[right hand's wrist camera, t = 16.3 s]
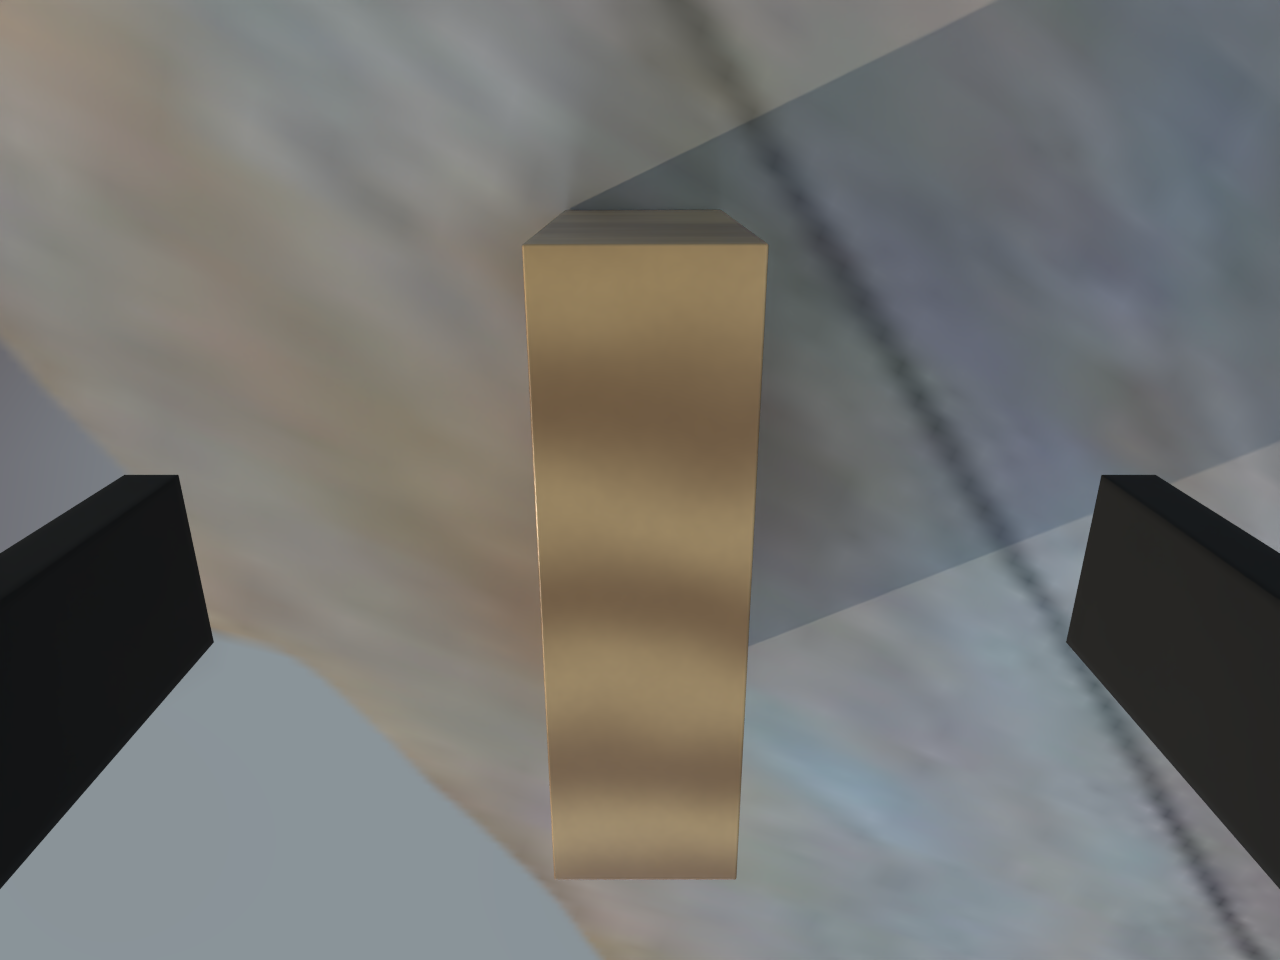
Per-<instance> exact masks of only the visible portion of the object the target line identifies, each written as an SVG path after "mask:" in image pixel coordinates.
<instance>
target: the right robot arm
mask: <svg viewBox="0 0 1280 960" xmlns="http://www.w3.org/2000/svg"><path fill="white" fill-rule="evenodd" d="M213 642H214V641H213V637H212V632H211V627H210V622H209V618H208V613H207V608H206V603H205V599H204V594H203V589H202V585H201V580H200V575H199V570H198V566H197V561H196V556H195V551H194V547H193V542H192V537H191V533H190V528H189V523H188V518H187V514H186V509H185V504H184V499H183V495H182V490H181V485H180V481H179V476H178V475H124V476H122V477H120V478H119V479H117V480H116V481H114V482H113V483H111V484H109V485H108V486H106V487H105V488H103V489H101V490H100V491H98V492H97V493H95V494H94V495H92V496H90V497H89V498H87V499H86V500H84V501H82V502H81V503H79V504H78V505H76V506H75V507H73V508H71V509H70V510H68V511H67V512H65V513H63V514H62V515H60V516H59V517H57V518H56V519H54V520H52V521H51V522H49V523H48V524H46V525H44V526H43V527H41V528H40V529H38V530H36V531H35V532H33V533H32V534H30V535H29V536H27V537H25V538H24V539H22V540H21V541H19V542H17V543H16V544H14V545H13V546H11V547H10V548H8V549H6V550H5V551H3V552H2V553H0V889H1V887H2V886H3V885H4V884H5V883H6V882H7V881H8V879H9V878H10V877H11V876H12V875H13V874H14V872H15V871H16V870H17V869H18V868H19V867H20V865H21V864H22V863H23V862H24V861H25V860H26V859H27V857H28V856H29V855H30V854H31V853H32V852H33V850H34V849H35V848H36V847H37V846H38V845H39V843H40V842H41V841H42V840H43V839H44V838H45V837H46V835H47V834H48V833H49V832H50V831H51V830H52V829H53V827H54V826H55V825H56V824H57V823H58V822H59V820H60V819H61V818H62V817H63V816H64V815H65V814H66V812H67V811H68V810H69V809H70V808H71V807H72V805H73V804H74V803H75V802H76V801H77V800H78V798H79V797H80V796H81V795H82V794H83V793H84V792H85V790H86V789H87V788H88V787H89V786H90V785H91V783H92V782H93V781H94V780H95V779H96V778H97V777H98V775H99V774H100V773H101V772H102V771H103V770H104V768H105V767H106V766H107V765H108V764H109V763H110V762H111V760H112V759H113V758H114V757H115V756H116V755H117V753H118V752H119V751H120V750H121V749H122V748H123V746H124V745H125V744H126V743H127V742H128V741H129V739H130V738H131V737H132V736H133V735H134V734H135V733H136V731H137V730H138V729H139V728H140V727H141V726H142V725H143V723H144V722H145V721H146V720H147V719H148V718H149V716H150V715H151V714H152V713H153V712H154V711H155V710H156V708H157V707H158V706H159V705H160V704H161V703H162V701H163V700H164V699H165V698H166V697H167V696H168V694H169V693H170V692H171V691H172V690H173V689H174V688H175V686H176V685H177V684H178V683H179V682H180V681H181V679H182V678H183V677H184V676H185V675H186V674H187V673H188V671H189V670H190V669H191V668H192V667H193V666H194V664H195V663H196V662H197V661H198V660H199V659H200V658H201V656H202V655H203V654H204V653H205V652H206V651H207V649H208V648H209V647H210V646H211V645H212V644H213ZM1066 643H1067V644H1068V645H1069V646H1070V647H1071V648H1072V649H1073V651H1074V652H1075V653H1076V654H1077V655H1078V656H1079V658H1080V659H1081V660H1082V661H1083V662H1084V663H1085V664H1086V666H1087V667H1088V668H1089V669H1090V670H1091V671H1092V673H1093V674H1094V675H1095V676H1096V677H1097V678H1098V679H1099V681H1100V682H1101V683H1102V684H1103V685H1104V686H1105V688H1106V689H1107V690H1108V691H1109V692H1110V693H1111V695H1112V696H1113V697H1114V698H1115V699H1116V700H1117V701H1118V703H1119V704H1120V705H1121V706H1122V707H1123V708H1124V710H1125V711H1126V712H1127V713H1128V714H1129V715H1130V716H1131V718H1132V719H1133V720H1134V721H1135V722H1136V723H1137V725H1138V726H1139V727H1140V728H1141V729H1142V730H1143V731H1144V733H1145V734H1146V735H1147V736H1148V737H1149V738H1150V740H1151V741H1152V742H1153V743H1154V744H1155V745H1156V747H1157V748H1158V749H1159V750H1160V751H1161V752H1162V753H1163V755H1164V756H1165V757H1166V758H1167V759H1168V760H1169V762H1170V763H1171V764H1172V765H1173V766H1174V767H1175V768H1176V770H1177V771H1178V772H1179V773H1180V774H1181V775H1182V777H1183V778H1184V779H1185V780H1186V781H1187V782H1188V783H1189V785H1190V786H1191V787H1192V788H1193V789H1194V790H1195V792H1196V793H1197V794H1198V795H1199V796H1200V797H1201V798H1202V800H1203V801H1204V802H1205V803H1206V804H1207V805H1208V807H1209V808H1210V809H1211V810H1212V811H1213V812H1214V814H1215V815H1216V816H1217V817H1218V818H1219V819H1220V820H1221V822H1222V823H1223V824H1224V825H1225V826H1226V827H1227V829H1228V830H1229V831H1230V832H1231V833H1232V834H1233V835H1234V837H1235V838H1236V839H1237V840H1238V841H1239V842H1240V844H1241V845H1242V846H1243V847H1244V848H1245V849H1246V850H1247V852H1248V853H1249V854H1250V855H1251V856H1252V857H1253V859H1254V860H1255V861H1256V862H1257V863H1258V864H1259V866H1260V867H1261V868H1262V869H1263V870H1264V871H1265V872H1266V874H1267V875H1268V876H1269V877H1270V878H1271V879H1272V881H1273V882H1274V883H1275V884H1276V885H1277V886H1278V887H1279V889H1280V553H1278V552H1277V551H1275V550H1274V549H1272V548H1270V547H1269V546H1267V545H1266V544H1264V543H1263V542H1261V541H1259V540H1258V539H1256V538H1255V537H1253V536H1251V535H1250V534H1248V533H1247V532H1245V531H1244V530H1242V529H1240V528H1239V527H1237V526H1236V525H1234V524H1232V523H1231V522H1229V521H1228V520H1226V519H1224V518H1223V517H1221V516H1220V515H1218V514H1217V513H1215V512H1213V511H1212V510H1210V509H1209V508H1207V507H1205V506H1204V505H1202V504H1201V503H1199V502H1198V501H1196V500H1194V499H1193V498H1191V497H1190V496H1188V495H1186V494H1185V493H1183V492H1182V491H1180V490H1179V489H1177V488H1175V487H1174V486H1172V485H1171V484H1169V483H1167V482H1166V481H1164V480H1163V479H1161V478H1160V477H1158V476H1156V475H1102V476H1101V481H1100V485H1099V490H1098V495H1097V499H1096V504H1095V509H1094V514H1093V518H1092V523H1091V528H1090V533H1089V537H1088V542H1087V547H1086V551H1085V556H1084V561H1083V566H1082V570H1081V575H1080V580H1079V584H1078V589H1077V594H1076V599H1075V603H1074V608H1073V613H1072V618H1071V622H1070V627H1069V632H1068V636H1067V641H1066Z"/></svg>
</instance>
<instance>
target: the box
mask: <svg viewBox="0 0 1280 960" xmlns="http://www.w3.org/2000/svg"><path fill="white" fill-rule="evenodd" d="M768 247H769V246H768V244H767V243H766V242H764V241H763V240H762V239H760V238H759V237H758V236H756V235H755V234H753V233H752V232H751V231H749V230H748V229H747V228H745V227H744V226H742V225H741V224H740V223H738V222H737V221H736V220H734V219H733V218H731V217H730V216H729V215H727V214H726V213H725V212H723V211H722V210H565V211H564V212H563V213H561V214H560V215H559V216H558V217H556V218H555V219H554V220H553V221H552V222H550V223H549V224H548V225H547V226H545V227H544V228H543V229H542V230H540V231H539V232H538V233H537V234H535V235H534V236H533V237H532V238H530V239H529V240H528V241H527V242H526V243H524V244H523V246H522V252H523V272H524V292H525V311H526V331H527V350H528V370H529V390H530V409H531V429H532V449H533V468H534V488H535V507H536V527H537V547H538V566H539V586H540V606H541V625H542V645H543V665H544V684H545V704H546V723H547V743H548V763H549V782H550V802H551V822H552V841H553V861H554V878H555V880H735V879H736V875H737V855H738V835H739V816H740V796H741V777H742V757H743V737H744V718H745V698H746V679H747V659H748V639H749V620H750V600H751V581H752V561H753V541H754V522H755V502H756V482H757V463H758V443H759V424H760V404H761V384H762V365H763V345H764V326H765V306H766V286H767V267H768Z"/></svg>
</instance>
